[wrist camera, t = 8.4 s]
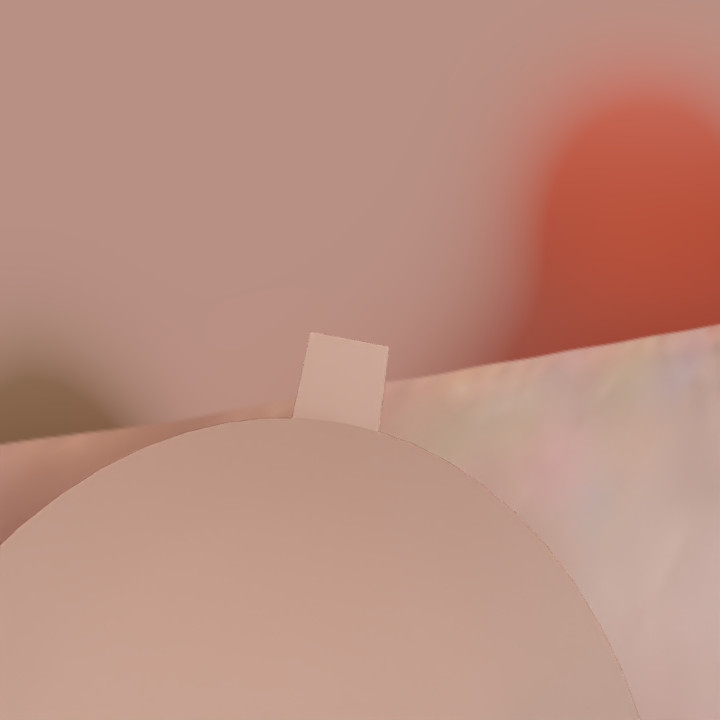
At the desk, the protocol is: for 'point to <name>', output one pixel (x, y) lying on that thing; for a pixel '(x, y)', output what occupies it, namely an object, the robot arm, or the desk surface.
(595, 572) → the desk surface
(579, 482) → the desk surface
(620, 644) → the desk surface
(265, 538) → the white rounded piece
